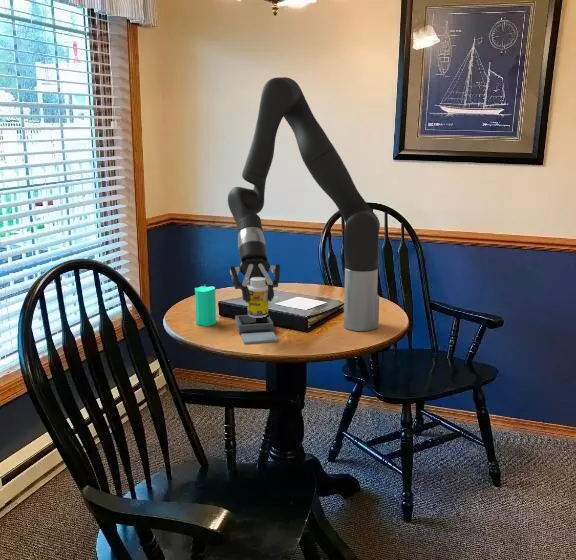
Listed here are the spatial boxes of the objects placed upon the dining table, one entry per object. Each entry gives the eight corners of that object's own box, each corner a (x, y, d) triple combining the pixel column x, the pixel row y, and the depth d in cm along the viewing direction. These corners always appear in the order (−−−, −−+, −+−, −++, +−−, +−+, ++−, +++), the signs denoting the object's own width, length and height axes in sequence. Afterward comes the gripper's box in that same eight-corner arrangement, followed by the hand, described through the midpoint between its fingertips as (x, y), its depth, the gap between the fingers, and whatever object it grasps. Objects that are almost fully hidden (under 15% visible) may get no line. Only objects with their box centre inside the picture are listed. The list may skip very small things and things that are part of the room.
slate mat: (273, 333, 165) (273, 331, 164) (277, 341, 158) (277, 339, 158) (241, 335, 163) (241, 333, 163) (244, 344, 157) (244, 341, 156)
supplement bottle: (243, 316, 158) (243, 279, 155) (254, 311, 163) (254, 275, 160) (261, 319, 155) (261, 282, 153) (272, 314, 160) (272, 277, 158)
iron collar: (267, 321, 175) (267, 313, 174) (273, 332, 166) (273, 323, 165) (235, 323, 173) (235, 315, 172) (239, 334, 164) (239, 325, 163)
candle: (220, 321, 175) (219, 282, 172) (206, 327, 170) (205, 286, 167) (205, 318, 178) (204, 279, 175) (191, 323, 174) (189, 283, 171)
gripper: (227, 240, 160) (232, 295, 152) (279, 238, 163) (287, 292, 154) (225, 255, 166) (230, 308, 158) (275, 253, 169) (283, 305, 161)
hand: (259, 300), depth 156 cm, fingers closed on supplement bottle, 5 cm apart
